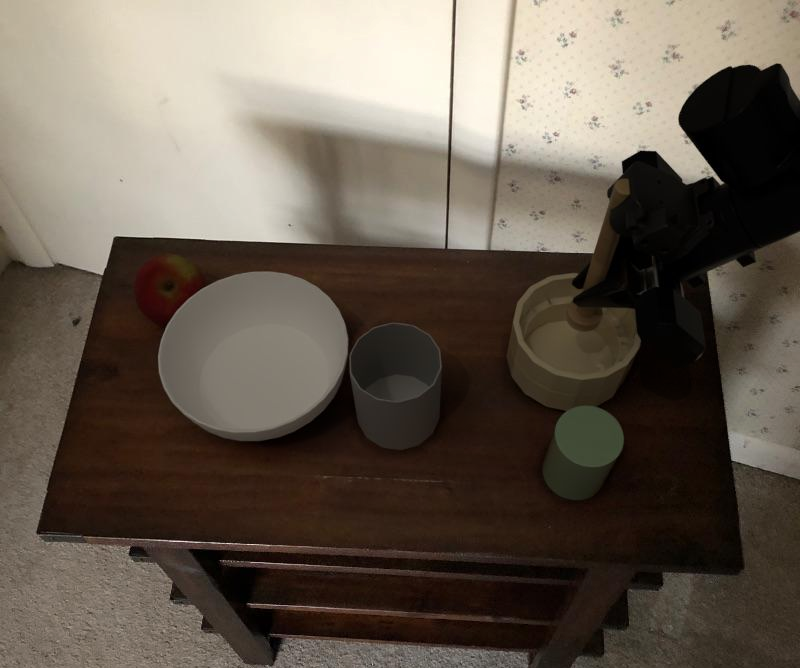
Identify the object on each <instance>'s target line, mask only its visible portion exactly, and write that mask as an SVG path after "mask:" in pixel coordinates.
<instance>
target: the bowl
mask: <svg viewBox="0 0 800 668" xmlns="http://www.w3.org/2000/svg"><path fill="white" fill-rule="evenodd" d="M159 343H160V344H159V348H158V355H157V363H158V375H159V378H160V382H161V384H162V388H163V390H164V392H165V393H166V395H167V397H168V398H169V400H170V402H171V403H172V405H174V407H176V408H177V409H178V410H179V411H180V412H181V413H182V415H184V416H185V417H186V418H188V419H189V420H190V421H191V422H193V423H194V424H195V425H197V426H199V427H200V428H201V429H203V430H205V431H206V432H208V433H209V434H211V435H215V436H217V437H220V438H223V439H226V440H227V439H228V440H232V441H237V442H238V441H239V442H262V441H268V440H272V439H278V438H281V437H283V436H287V435H288V434H291V433H294V432H296V431H297V430H299V429H301V428H303V427H305V426H306V425H307V424H310V423H311V422H312V421H314V420H315V419H316V418H317V417H318V416H319V415H320V414H322V413H323V412H324V411H325V410H326V408H327V407H328V406H329V404H330V403H332V401H333V399H334V398H335V396H336V394H337V393H338V390H339V388H340V387H341V385H342V382H343V379H344V374H345V370H346V366H347V361H348V358H349V357H348V356H349V335H348V329H347V324H346V322H345V320H344V318H343V316H342V313H341V311H340V309H339V307H338V306H337V305H336V304H335V303H334V301H333V300H332V299H331V297H330V296H329V295H327V294H326V293H325V292H324V291H323V290H322V289H321V288H319V287H318V286H317V285H315V284H313V283H311V282H309V281H307V280H305V279H304V278H300V277H298V276H294V275H292V274H289V273H283V272H277V271H247V272H242V273H237V274H233V275H230V276H228V277H225V278H221V279H218V280H216V281H214V282H212V283H210V284H207V286H206V287H205V288H203V289H201V290H200V291H198V292H197V293H196V294H194V295H193V296H192V297H190V298H189V299H188V300H187V301H186V302H185V303H184V304H183V305H182V306H181V307H180V308H179V309H178V310H177V311H176V313H175V314H174V316H173V317H172V319H171V320H170V322H169V323H168V325H167V327H166V328H165V329H164V332H163V334H162V337H161V339H160V342H159Z"/></svg>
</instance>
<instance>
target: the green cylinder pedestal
mask: <svg viewBox="0 0 800 668" xmlns="http://www.w3.org/2000/svg"><path fill="white" fill-rule="evenodd" d="M624 445H625V436H624V431H623V429H622V426H621V424H620V423H619V421H618V420H617V419H616V418H615V416H613V415H612V414H611V413H610V412H608V411H607V410H605V409H603V408H600V407H599V406H596V407H594V406H578V407H574V408H572V409H570V410H568V411H565V412H564V413H562V415H561V416H560V417H559V418H558V420H557V422H556V424H555V427H554V430H553V433H552V435H551V438H550V440H549V444H548V447H547V450H546V452H545V456H544V459H543V462H542V467H541V469H542V470H541V471H542V476H543V479H544V482H545V484H546V485H547V487H548V488H549V489H550V491H552V492H553V493H554V494H555V495H557V496H559V497H561V498H563V499H566V500H569V501H583V500H587V499H589V498H592V497H594V496H595V495H597V493H598V492H599V491H600V490H601V489H602V487H603V485H604V483H605V482H606V479H607V478H608V476H609V475H610V472H611V470H612V469H613V467H614V465H615V463H616V462H617V460H618V458H619V456H620V455H621V453H622V451H623V448H624Z"/></svg>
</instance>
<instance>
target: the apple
mask: <svg viewBox="0 0 800 668" xmlns="http://www.w3.org/2000/svg"><path fill="white" fill-rule="evenodd" d="M206 286H208V282H207V278H206V276H205V274H204V272H203V271H202V269H201V268H200V267H199V266H198V265H197V264H196V263H194V261H192V260H190V259H189V258H186V257H184V256H181V255H179V254H174V253H161V254H158V255H156V256H153V257H152V258H150V259H148V260H146V261H145V262H144V263H143V264H142V266H140V268H139V269H138V271H137V273H136V276H135V279H134V286H133V287H134V289H133V290H134V299H135V303H136V304H137V307H138V309H139V310H140V311H141V313H142V314H143V315H144V316H145V317H146V318H147V319H148V320H150V321H151V322H152V323H154V324H155V325H157V326H159V327H160V328H165V329H166V327H167V325H168V323H169V322H170V320H171V319H172V317H173V316H174V314H175V313H176V311H177V310H178V309H179V308H180V307H181V306H182V305H183V304H184V303H185V302H186V301H187V300H188V299H189V298H190V297H192V296H193V295H194V294H196V293H197V292H198V291H200V290H201V289H203V288H205V287H206Z"/></svg>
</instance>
